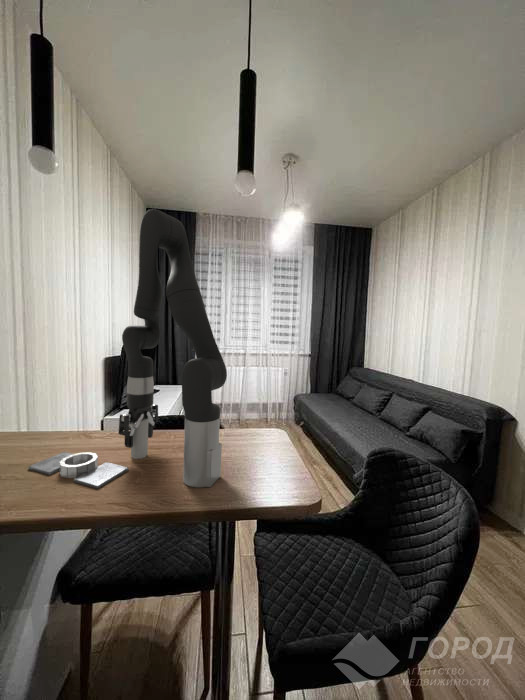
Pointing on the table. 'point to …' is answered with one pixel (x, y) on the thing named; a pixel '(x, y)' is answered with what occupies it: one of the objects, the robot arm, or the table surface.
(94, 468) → the hinge model
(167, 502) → the table surface
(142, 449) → the beverage can
